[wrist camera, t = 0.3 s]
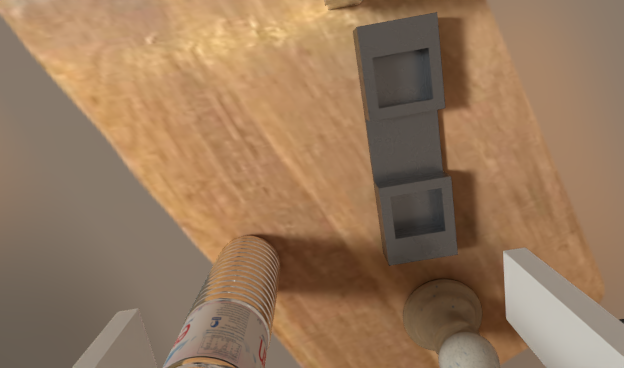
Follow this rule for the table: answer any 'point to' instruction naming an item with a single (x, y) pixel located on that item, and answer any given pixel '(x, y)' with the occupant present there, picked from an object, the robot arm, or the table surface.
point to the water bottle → (232, 310)
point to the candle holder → (449, 324)
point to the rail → (406, 136)
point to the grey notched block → (340, 3)
